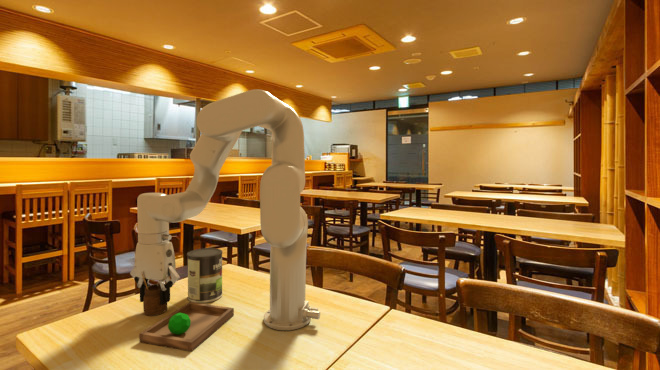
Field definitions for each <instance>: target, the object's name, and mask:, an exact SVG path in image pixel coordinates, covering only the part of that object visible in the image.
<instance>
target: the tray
mask: <svg viewBox="0 0 660 370" xmlns="http://www.w3.org/2000/svg"><path fill="white" fill-rule="evenodd" d="M234 311H235V310H234V307H227V306H221V305H213V304H207V303H193V302H190V301H189V302H187V303H186V304H184V305H182V306H181V307H178V309H176V310H174V311H173V312H171V313H170V314H168V315H166V316H165V317H163V318H161V319H160V320H159V321H157V322H154V324H152V325H151V326H149V327H147V328H146V329H144V330H143V331H141V332H139V335H138V336H139V343H141V344H148V345H151V346H152V345H153V346H159V347H165V348H169V349H174V350H180V351H182V350H183V351H186V352H193V351H194V350H196V349H197V348H198V347H199V346H200V345H201V344H202V343H204V342H205V341H206V340H207V339H208V338H210V337H211V336H212V335H213V334H214V333H215V332H216V331H218V330H219V329H220V328H221V327H222V326H223V325H225V323H226V324H227V322H229V320H230V319H231V318H232V317H234V315H235V314H234V313H235V312H234ZM177 313H184V314H187V315H188V316H189V318H190V320H191V323H190V327H189V329H188V330H187V332H185V333H183V334H180V335H177V334H174V333H171V332H170V330H169V329H168V323H169V320H170V318H171V317H172V316H173V315H175V314H177Z"/></svg>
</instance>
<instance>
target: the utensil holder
mask: <svg viewBox="0 0 660 370" xmlns="http://www.w3.org/2000/svg"><path fill="white" fill-rule="evenodd" d="M141 273H142V272H141ZM142 276H143V274H142ZM143 280H144V283H145V285H146V288H145V295H144V298H143V302H142V303H143V305H142V306H143V313H144V315H145V316H149V317H152V316H158V315H162V314H164V313H165V312H167V309H168V302H167V303H165V304H164V305H160V291H161V290H162V289H161V286H160V283H159V282H157V283H156V284H155V283H154V284H150V286H148V287H147V284H146V280H145V279H144V276H143Z"/></svg>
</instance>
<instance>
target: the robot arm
mask: <svg viewBox="0 0 660 370" xmlns="http://www.w3.org/2000/svg"><path fill="white" fill-rule="evenodd" d="M196 127H197V129H198V130H199V132H200V133H201V134H200V136H199V138H198V140H197V142H196V143H195V145H194V146H193V149H192V150H191V152H190V154H189V158H190V161H191V162H192V164H193V168H194V172H193V176H192V177H191V178H192V179H191V180H190V182H189V184H188V186H187V187H186V189H185V191H181V192H177V193H172V194H166V193H164V192H144V193H140V194H139V195H138V196H137V199H136V201H137V203H136V204H137V206H136V208H137V211H136V212H137V243H136V247H135V252H134V253H135V254H134V267H133V268H132V269H131V271H129V274H130V276H131V277H132V278H133V280H134V281H135V283H136V284H137V285H136V286H137V288H139V302H140V303H143V298H144V295H145V288H146V285H145V283H144V280H143V276H144V279H145V280H146V284H147V287H148V286H150V285H151V284H150V280H152V281H157V282H158V283H159V284H160V286H161V289H162V290H161V291H160V305H164V304H165V303H167V304H168V303H169V302H170V301H171V288H173V286H174V285H175V283H176V282H177V281H179V279H180V278H181V276H180V275H179V273H178V272H177V271H176V266H177V265H176V257H175V251H174V250H175V249H174V246H173V243H172V241H170V240H172V235H171V234H170V223H179V222H183V221H187V220H188V219H190V218H194V217H197V216H199V215H200V214H202V213H203V211H204V210H205V208H206V206H207V205H208V204H209V202H210V200H211V198H212V197H213V195H214V193H215V191H216V188H217V187H218V186H217V185H218V182H219V179H220V172H221V170H222V167H223V165H224V164H225V162H226V160H227V159H228V157H229V155H230V153H231V151H232V150H233V148H234V146H235V145H236V143H237V142H238V139H239V138H240V136H241V134H242V132H243V131H245V130H250V129H252V128H253V129H254V128H256V127H259V128H263V129H266V130H268V131H270V133H271V135H272V136H271V137H272V138H271V164H270V165H269V166H268V167H266V169H265V170H264V172H263V173H262V175H261V179H260V184H259V185H260V186H259V203H260V204H259V211H260V215H259V220H260V224H259V225H260V231H261V235H262V237H263V239H264V240H265V242H267V244H269V245H270V251H269V252H270V255H269V257H270V258H269V262H270V264H269V310H267V311H266V312H265V313H264V314H263V323H264V324H265V326H267V327H269V328H271V329H273V330H277V331H294V330H298V329H301V328H303V327H306V326H307V325H308V324H309V323H310V322H311V320H312V319H313V320H320V318H321V311H319V308H318V307H311V306H309V301H308V300H306V286H307V285H306V283H307V282H306V280H307V279H306V277H307V275H306V274H307V273H306V272H307V246H308V245H307V242H308V241H307V240H308V229H309V221H308V215H307V213H306V211H305V210H304V209H303V207H302V206H301V193H302V192H303V190H304V189H305V186H306V171H305V170H306V163H305V159H306V158H305V155H306V154H305V133H304V132H305V131H304V127H303V122H302V120H301V118H300V116H299V114H298V113H297V112H296V110H295V109H294V108H292V107H291V106H289V104H287V103H286V102H283V101H282V100H280V99H279V98H277V97H276V96H274V95H273V94H271V93H270V92H269V91H266V90H263V89H249V90H247V91H243V92H240V93H236V94H234V95H231V96H228V97H223V98H222V99H218V100H216V101H213V102H210V103H208V104H207V105H205V106H203V107H202V108H201V109H200V110H199V111H198V113H197V117H196ZM141 272H142V273H141ZM142 274H143V276H142ZM170 277H171V278H170Z"/></svg>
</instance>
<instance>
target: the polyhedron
mask: <svg viewBox="0 0 660 370" xmlns="http://www.w3.org/2000/svg"><path fill="white" fill-rule="evenodd" d="M190 323H191V320H190V318H189V316H188V315H187V314H184V313H177V314H175V315H173V316H172V317H171V318H170V320H169V323H168V329H169V330H170V332H171V333H174V334H177V335H180V334H183V333H185V332H187V330H188V329H189V327H190Z"/></svg>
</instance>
